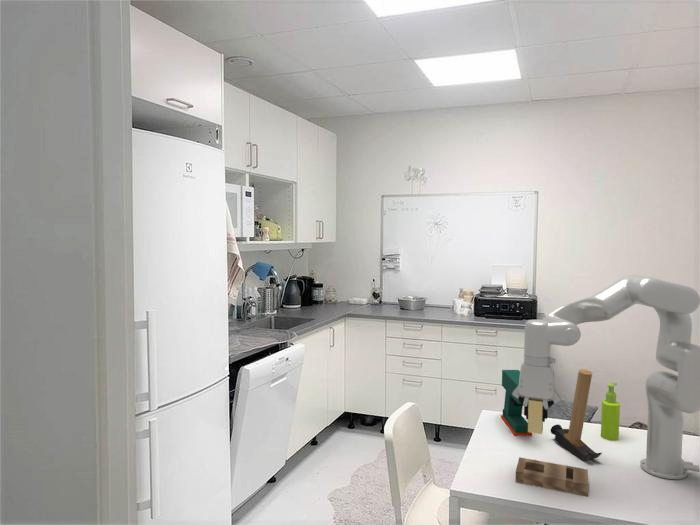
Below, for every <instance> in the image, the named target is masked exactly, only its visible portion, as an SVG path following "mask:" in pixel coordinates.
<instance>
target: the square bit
mask: <svg viewBox="0 0 700 525" xmlns="http://www.w3.org/2000/svg"><path fill="white" fill-rule="evenodd" d="M543 405H544V404H543V399H537V398H530V397H529V403H528V420H527V422H528V432H530V433H532V434H538V435H542V434H543V429H544V422H543V421H542V412H543Z"/></svg>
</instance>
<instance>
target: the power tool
mask: <svg viewBox="0 0 700 525" xmlns="http://www.w3.org/2000/svg"><path fill="white" fill-rule="evenodd" d="M519 377H520V370H519V369H502V370H501V386H502V387H503V389H504V390H505V394H504V404H503V405H504V406H503V408H502V414H501V415H500V419H501V420H502V422H503V423H504V424H505V425H506V426H507V428H508V429H509V431H510V432H511V433H512V435H513V436H514V437H533V433H530V432H528V420H526V418H524V417H523V416H522V415H523V409H524V406H523V404H522V403H521V402H520V401H519V399H518V398H516V397H515V396H513V395H512V393H513V391H514V390H515V389H516V388H517V386H518V385H519ZM518 393H519V392H518ZM523 397H524V396H523ZM524 398H525V397H524ZM528 403H529V400H528Z"/></svg>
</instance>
